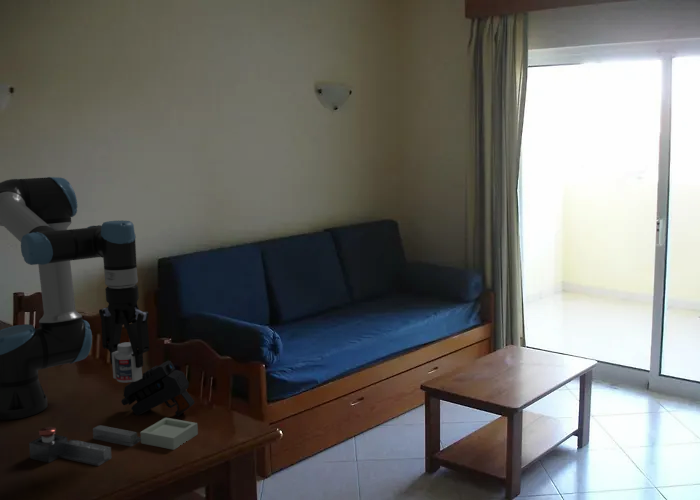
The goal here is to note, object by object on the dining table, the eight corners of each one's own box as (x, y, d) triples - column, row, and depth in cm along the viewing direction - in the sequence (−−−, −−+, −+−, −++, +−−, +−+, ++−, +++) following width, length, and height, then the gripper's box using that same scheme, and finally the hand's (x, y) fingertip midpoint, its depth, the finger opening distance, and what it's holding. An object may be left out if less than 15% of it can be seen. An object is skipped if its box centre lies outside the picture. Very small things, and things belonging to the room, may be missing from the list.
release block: (30, 458, 172) (29, 442, 171) (49, 448, 177) (48, 433, 177) (49, 462, 170) (48, 446, 169) (68, 452, 175) (67, 437, 174)
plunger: (37, 454, 172) (35, 431, 171) (49, 448, 176) (47, 425, 175) (49, 457, 171) (47, 434, 170) (61, 450, 174) (59, 428, 173)
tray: (141, 443, 180) (140, 431, 179) (166, 428, 189) (165, 417, 189) (173, 449, 176) (173, 438, 176) (197, 434, 185) (197, 423, 185)
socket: (59, 457, 172) (58, 446, 172) (105, 432, 187) (104, 422, 186) (98, 466, 168) (97, 454, 167) (142, 439, 182) (142, 429, 182)
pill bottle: (118, 384, 173) (115, 348, 171) (115, 378, 177) (112, 343, 176) (140, 380, 175) (138, 345, 174) (137, 374, 180) (135, 340, 178)
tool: (192, 409, 194) (164, 361, 193) (137, 438, 199) (110, 392, 198) (201, 401, 200) (174, 355, 199) (148, 429, 205) (121, 384, 204)
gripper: (81, 285, 173) (88, 378, 177) (140, 291, 165) (146, 388, 169) (104, 280, 180) (110, 369, 183) (162, 285, 172) (167, 378, 176)
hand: (127, 378), depth 176 cm, fingers closed on pill bottle, 5 cm apart
